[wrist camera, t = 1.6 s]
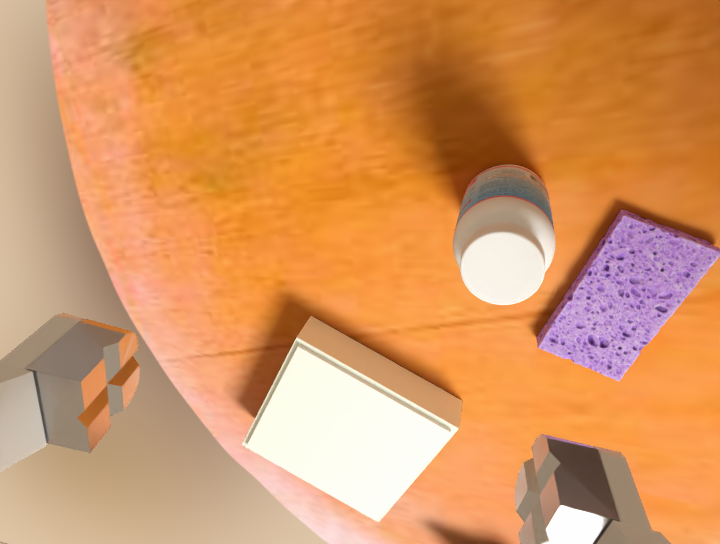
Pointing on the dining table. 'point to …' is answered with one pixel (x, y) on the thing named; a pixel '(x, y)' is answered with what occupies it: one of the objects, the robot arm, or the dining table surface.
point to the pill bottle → (504, 234)
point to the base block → (351, 420)
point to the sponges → (625, 294)
